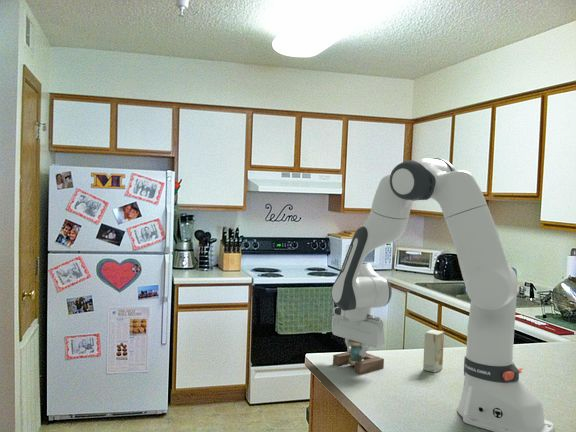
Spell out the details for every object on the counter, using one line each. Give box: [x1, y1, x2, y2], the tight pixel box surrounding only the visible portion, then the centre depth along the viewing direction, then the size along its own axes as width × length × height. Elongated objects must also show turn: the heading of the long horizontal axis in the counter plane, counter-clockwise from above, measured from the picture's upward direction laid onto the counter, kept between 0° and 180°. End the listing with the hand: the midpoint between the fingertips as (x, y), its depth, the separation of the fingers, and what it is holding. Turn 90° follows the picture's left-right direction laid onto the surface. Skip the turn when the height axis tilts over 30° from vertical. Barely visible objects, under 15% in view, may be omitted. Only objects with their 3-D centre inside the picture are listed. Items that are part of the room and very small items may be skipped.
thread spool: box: [349, 340, 364, 366], centre depth 170 cm, size 5×5×7 cm
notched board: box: [332, 351, 385, 375], centre depth 171 cm, size 12×11×3 cm
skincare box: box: [422, 329, 445, 373], centre depth 170 cm, size 6×4×12 cm
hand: (356, 354), depth 170 cm, fingers closed on thread spool, 4 cm apart
